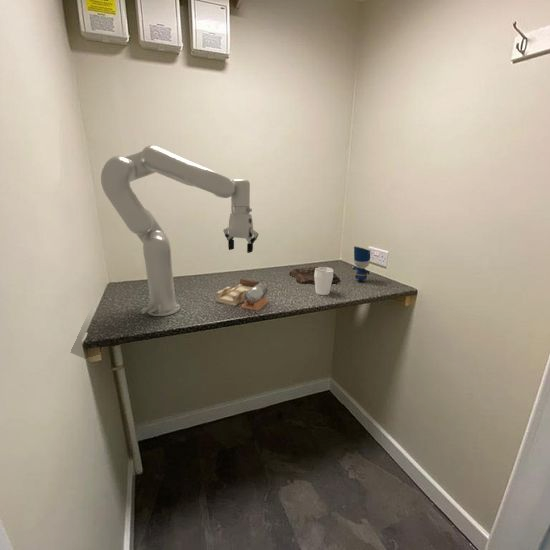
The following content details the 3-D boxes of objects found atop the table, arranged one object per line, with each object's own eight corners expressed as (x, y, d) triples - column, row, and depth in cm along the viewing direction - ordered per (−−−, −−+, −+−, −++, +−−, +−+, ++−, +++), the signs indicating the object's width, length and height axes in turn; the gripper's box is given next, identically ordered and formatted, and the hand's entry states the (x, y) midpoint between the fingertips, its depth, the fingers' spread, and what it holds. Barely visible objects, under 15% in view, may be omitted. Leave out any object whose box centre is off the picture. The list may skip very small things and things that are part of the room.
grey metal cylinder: (255, 305, 119) (256, 292, 117) (243, 301, 121) (244, 288, 119) (266, 297, 128) (267, 285, 126) (255, 294, 130) (256, 282, 128)
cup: (316, 296, 135) (317, 272, 131) (311, 290, 143) (312, 267, 139) (334, 295, 136) (336, 271, 132) (328, 289, 144) (329, 266, 141)
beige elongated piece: (235, 306, 123) (235, 295, 121) (216, 301, 127) (216, 291, 126) (258, 290, 141) (258, 281, 140) (241, 287, 145) (241, 278, 144)
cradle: (257, 311, 118) (257, 304, 118) (241, 307, 122) (241, 301, 121) (268, 302, 127) (268, 296, 126) (253, 299, 130) (253, 293, 129)
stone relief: (325, 262, 179) (349, 277, 151) (325, 269, 180) (348, 285, 152) (286, 264, 172) (302, 280, 145) (285, 271, 174) (302, 288, 146)
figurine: (374, 283, 154) (378, 247, 148) (362, 286, 149) (367, 249, 143) (355, 277, 164) (359, 242, 158) (344, 279, 159) (347, 244, 153)
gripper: (263, 211, 118) (262, 252, 123) (229, 208, 125) (229, 247, 130) (253, 212, 111) (252, 255, 116) (218, 209, 119) (219, 249, 124)
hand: (240, 250), depth 123 cm, fingers open, 9 cm apart
